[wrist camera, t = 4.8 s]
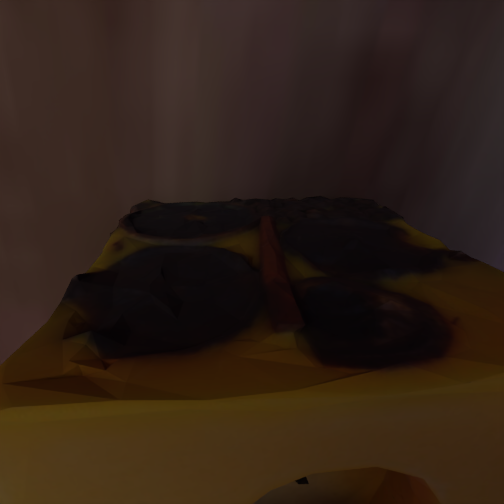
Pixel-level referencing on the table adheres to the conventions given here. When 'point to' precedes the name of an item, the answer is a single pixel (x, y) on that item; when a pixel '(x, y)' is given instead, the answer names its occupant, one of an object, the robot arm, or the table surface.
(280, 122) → the table surface
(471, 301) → the candle
